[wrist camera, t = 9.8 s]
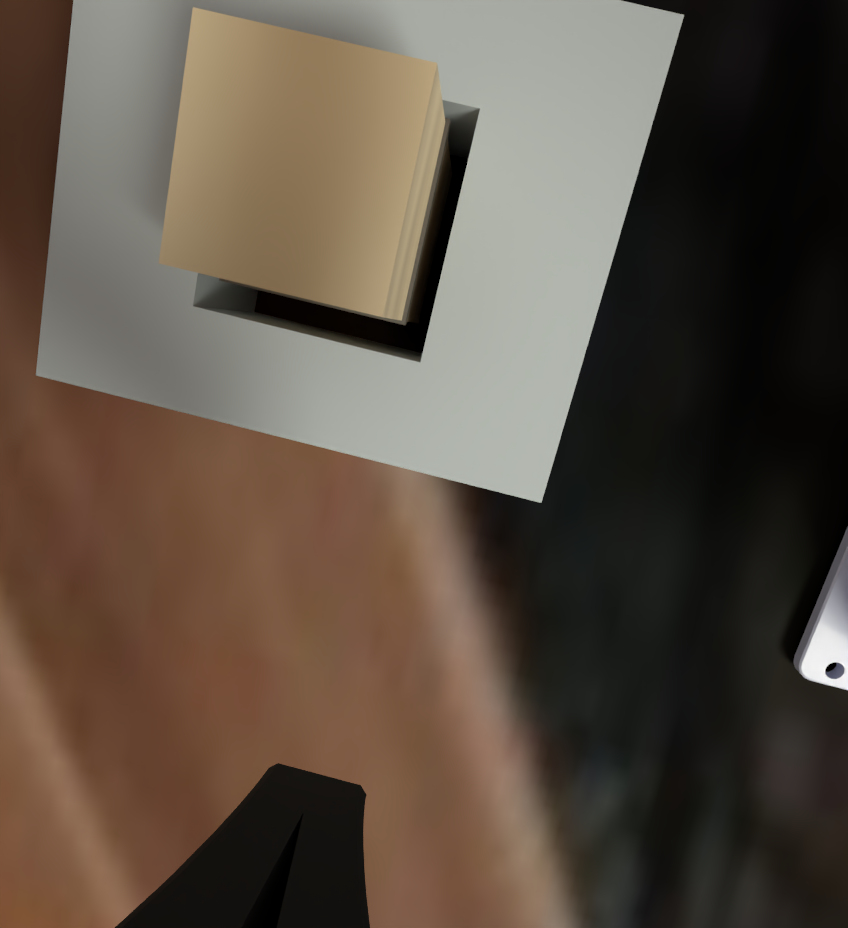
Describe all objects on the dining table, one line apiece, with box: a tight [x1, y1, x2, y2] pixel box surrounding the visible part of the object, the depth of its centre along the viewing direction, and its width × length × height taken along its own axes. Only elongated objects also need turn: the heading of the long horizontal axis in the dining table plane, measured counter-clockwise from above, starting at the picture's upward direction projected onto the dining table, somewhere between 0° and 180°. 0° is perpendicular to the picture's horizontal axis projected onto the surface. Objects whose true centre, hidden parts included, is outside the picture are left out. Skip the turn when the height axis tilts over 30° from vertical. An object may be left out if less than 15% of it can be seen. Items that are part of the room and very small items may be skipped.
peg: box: [159, 7, 453, 325], centre depth 14 cm, size 4×4×7 cm
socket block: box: [36, 0, 684, 503], centre depth 15 cm, size 12×10×4 cm
